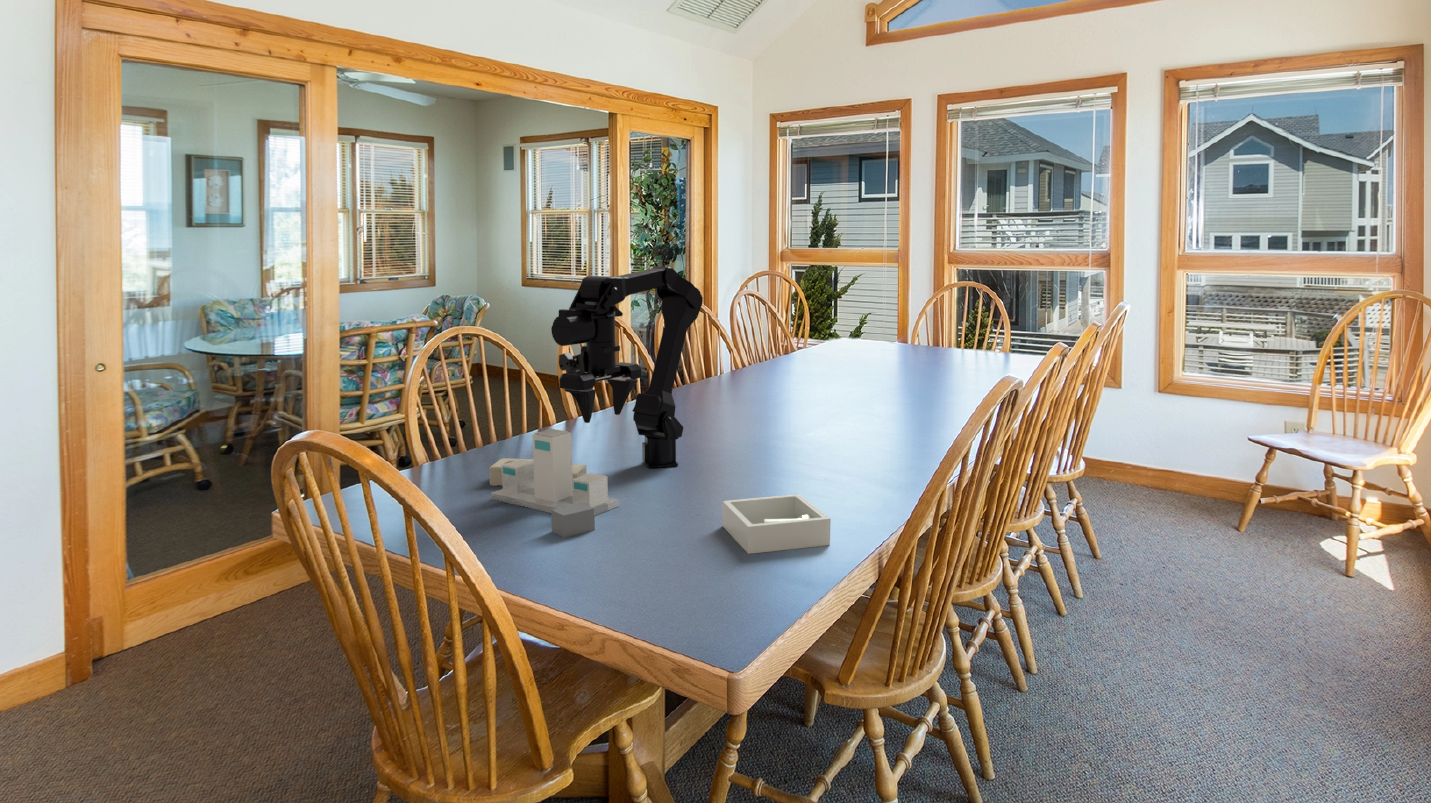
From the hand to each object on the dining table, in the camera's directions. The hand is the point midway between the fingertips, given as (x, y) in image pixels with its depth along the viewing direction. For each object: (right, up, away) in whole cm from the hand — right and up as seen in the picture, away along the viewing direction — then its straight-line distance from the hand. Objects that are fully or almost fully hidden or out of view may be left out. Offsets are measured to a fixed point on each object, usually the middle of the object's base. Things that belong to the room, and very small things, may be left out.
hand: (602, 418), depth 182 cm
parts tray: (+32, -19, -29) cm, 47 cm away
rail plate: (-8, -15, -11) cm, 21 cm away
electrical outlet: (-13, -13, +3) cm, 19 cm away
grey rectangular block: (-2, -19, -26) cm, 33 cm away
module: (-8, -14, -11) cm, 20 cm away
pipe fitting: (+34, -20, -30) cm, 49 cm away
